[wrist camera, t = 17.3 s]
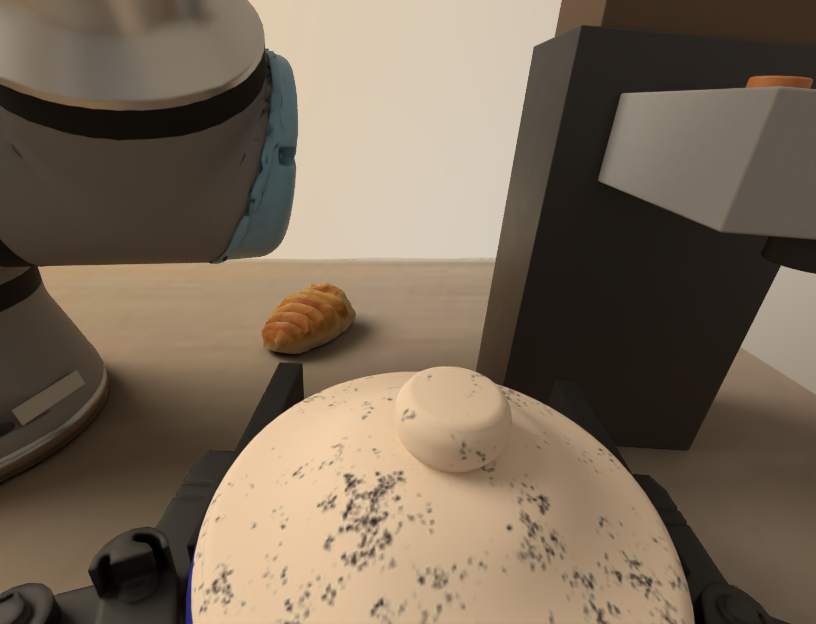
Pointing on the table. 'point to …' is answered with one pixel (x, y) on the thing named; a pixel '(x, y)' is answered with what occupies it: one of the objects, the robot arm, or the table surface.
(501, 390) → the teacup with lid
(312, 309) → the pastry
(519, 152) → the coffee maker
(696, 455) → the table surface
